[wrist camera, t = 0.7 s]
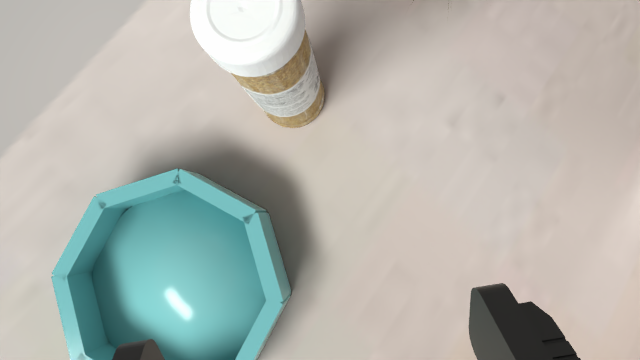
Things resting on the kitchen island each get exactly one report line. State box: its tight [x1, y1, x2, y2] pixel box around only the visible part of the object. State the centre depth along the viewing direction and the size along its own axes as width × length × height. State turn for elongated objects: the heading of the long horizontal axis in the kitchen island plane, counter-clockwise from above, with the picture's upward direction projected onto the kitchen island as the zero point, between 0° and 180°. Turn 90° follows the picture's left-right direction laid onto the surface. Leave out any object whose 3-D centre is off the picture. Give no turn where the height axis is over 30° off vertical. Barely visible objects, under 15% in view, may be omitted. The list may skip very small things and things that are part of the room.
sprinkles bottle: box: [190, 0, 324, 128], centre depth 23 cm, size 5×4×13 cm
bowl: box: [51, 169, 291, 360], centre depth 28 cm, size 14×14×3 cm
